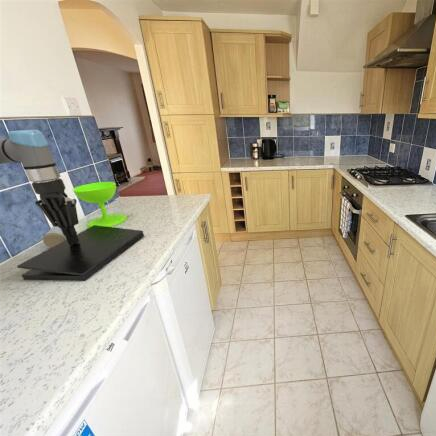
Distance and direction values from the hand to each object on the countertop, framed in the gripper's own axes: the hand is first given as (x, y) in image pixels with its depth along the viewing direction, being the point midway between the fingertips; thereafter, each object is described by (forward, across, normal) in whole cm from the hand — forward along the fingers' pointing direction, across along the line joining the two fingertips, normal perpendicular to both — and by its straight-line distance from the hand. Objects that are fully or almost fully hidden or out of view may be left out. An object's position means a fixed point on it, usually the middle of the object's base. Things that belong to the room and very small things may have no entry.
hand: (74, 243), depth 89 cm
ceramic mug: (+5, +13, -8) cm, 16 cm away
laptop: (+5, -5, 0) cm, 7 cm away
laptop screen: (+2, -5, 0) cm, 6 cm away
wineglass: (+5, +13, -30) cm, 33 cm away
